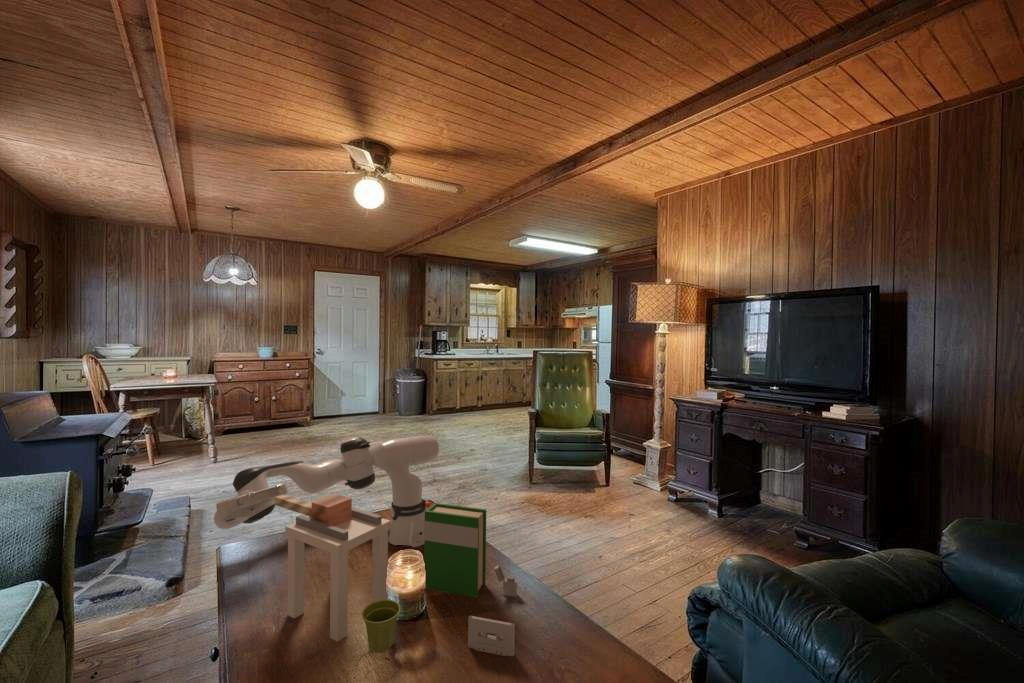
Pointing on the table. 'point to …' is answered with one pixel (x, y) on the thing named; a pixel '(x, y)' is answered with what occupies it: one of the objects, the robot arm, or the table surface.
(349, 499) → the mallet
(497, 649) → the cassette
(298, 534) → the stand
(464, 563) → the hardback book
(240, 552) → the table surface
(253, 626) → the table surface
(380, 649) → the plant pot
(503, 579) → the lighter
